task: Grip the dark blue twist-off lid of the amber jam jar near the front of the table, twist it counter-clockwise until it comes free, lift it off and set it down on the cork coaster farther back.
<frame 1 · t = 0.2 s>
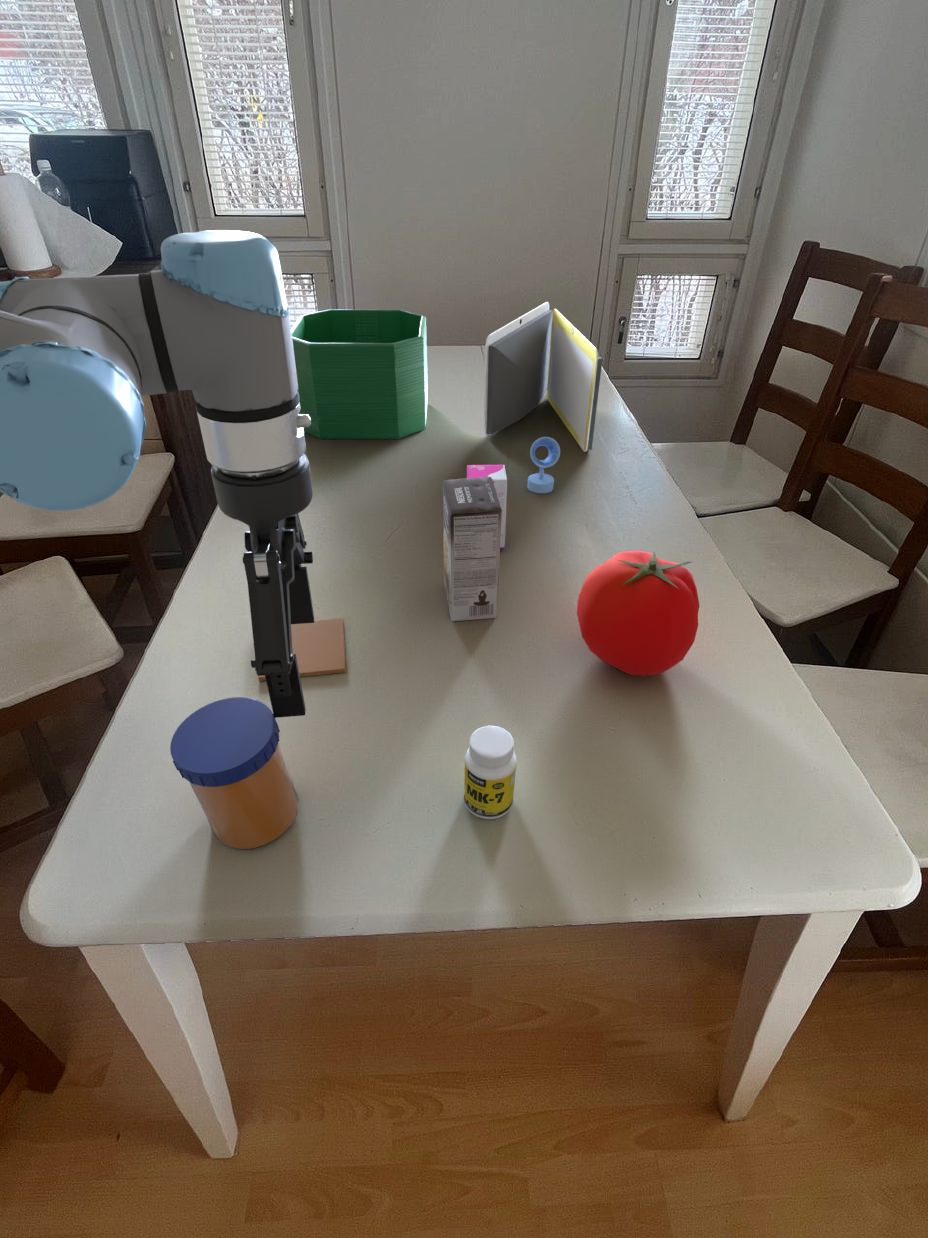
hand: (296, 664, 67), 10 cm above the table, tool pointing down, fingers open, 13 cm apart
jar: (256, 812, 65), on the table
coaster: (303, 649, 85), on the table
supplement box: (484, 542, 106), on the table
coffee box: (469, 601, 93), on the table
planter: (366, 416, 147), on the table
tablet: (527, 422, 145), on the table
supplement bottle: (488, 802, 67), on the table
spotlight: (540, 489, 120), on the table
lid: (224, 736, 59), point 11 cm above the table, screwed on, not yet turned, touching gripper
tomato: (625, 655, 85), on the table
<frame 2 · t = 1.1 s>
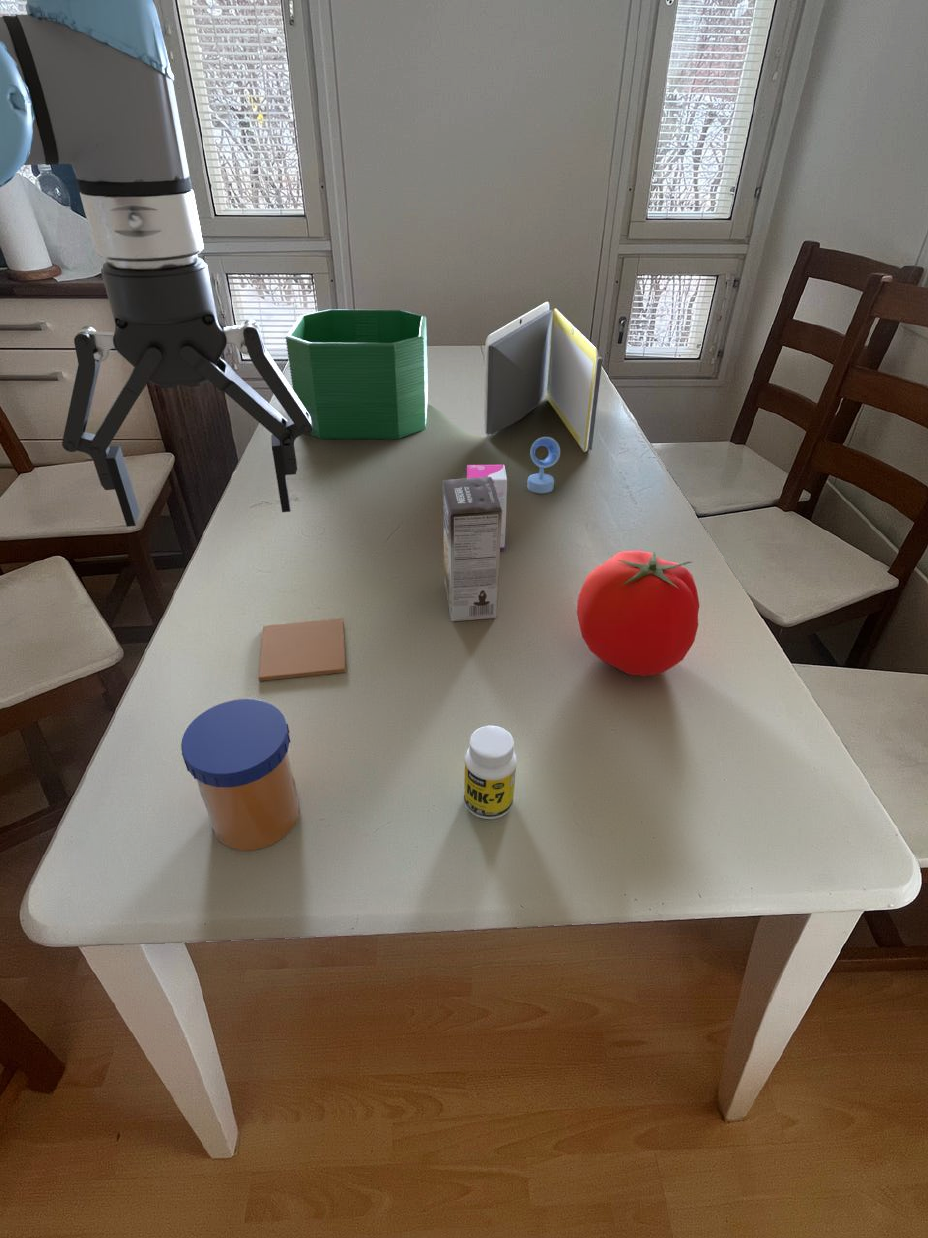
hand: (211, 512, 64), 23 cm above the table, tool pointing down, fingers open, 13 cm apart
lid: (235, 737, 59), point 11 cm above the table, turned 6° so far, risen 0.0 cm, still on its thread
everything else where it was.
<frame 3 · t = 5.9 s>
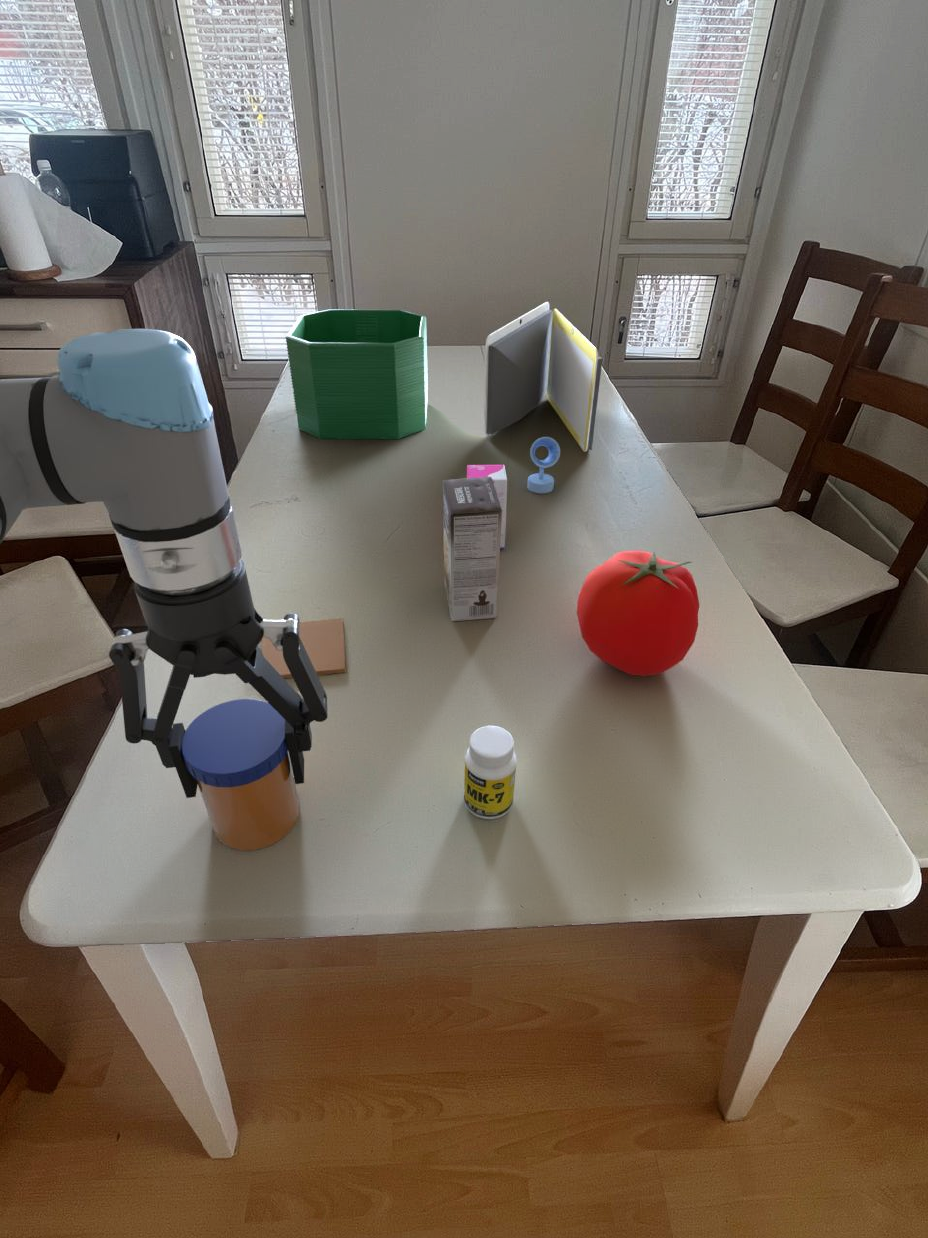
hand: (247, 778, 62), 5 cm above the table, tool pointing down, fingers closed on lid, 9 cm apart
lid: (235, 737, 59), point 11 cm above the table, turned 6° so far, risen 0.0 cm, still on its thread, touching gripper
everything else where it was.
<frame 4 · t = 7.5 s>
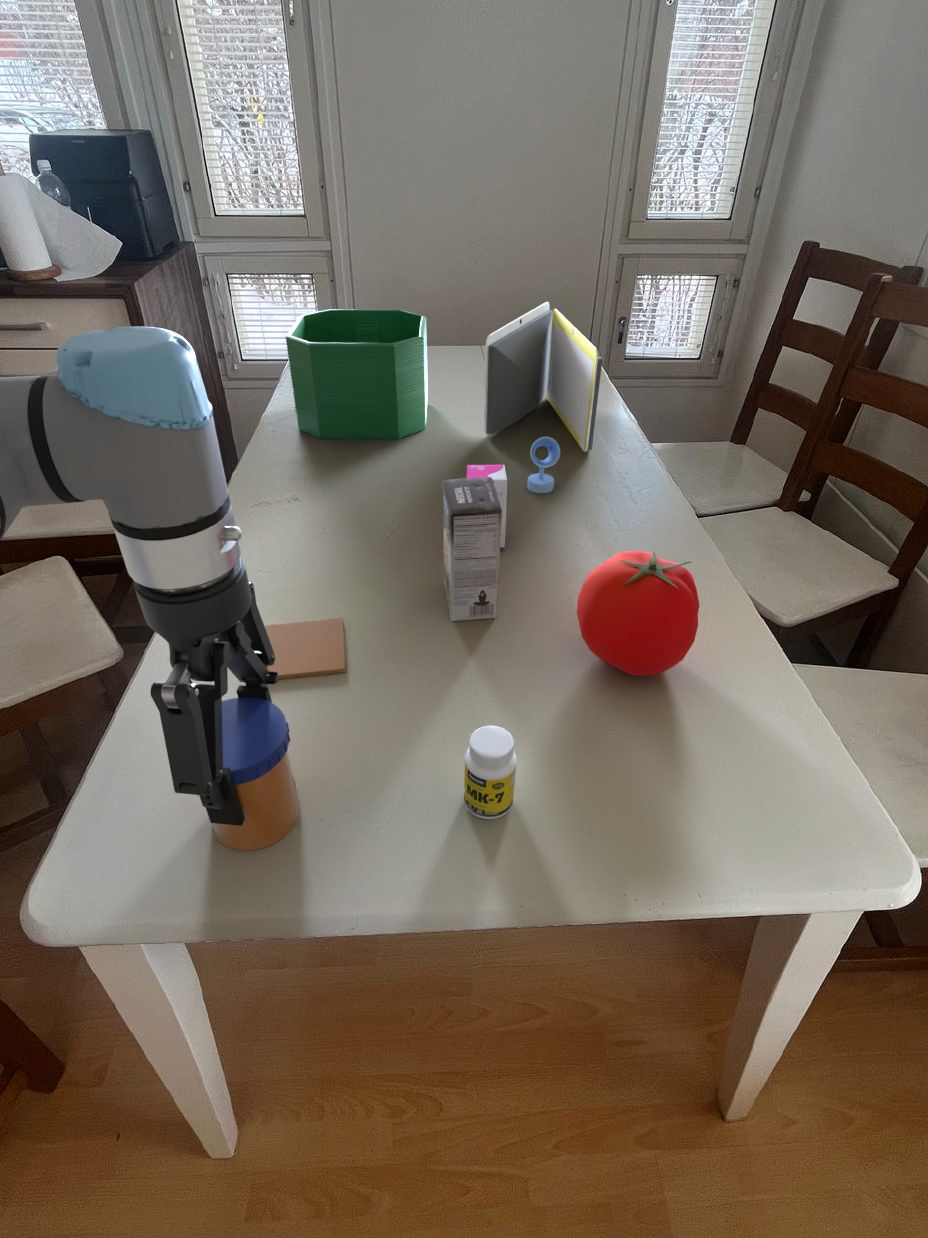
hand: (247, 777, 62), 5 cm above the table, tool pointing down, fingers closed on lid, 9 cm apart
lid: (235, 735, 59), point 11 cm above the table, turned 80° so far, risen 0.2 cm, still on its thread, touching gripper
everything else where it was.
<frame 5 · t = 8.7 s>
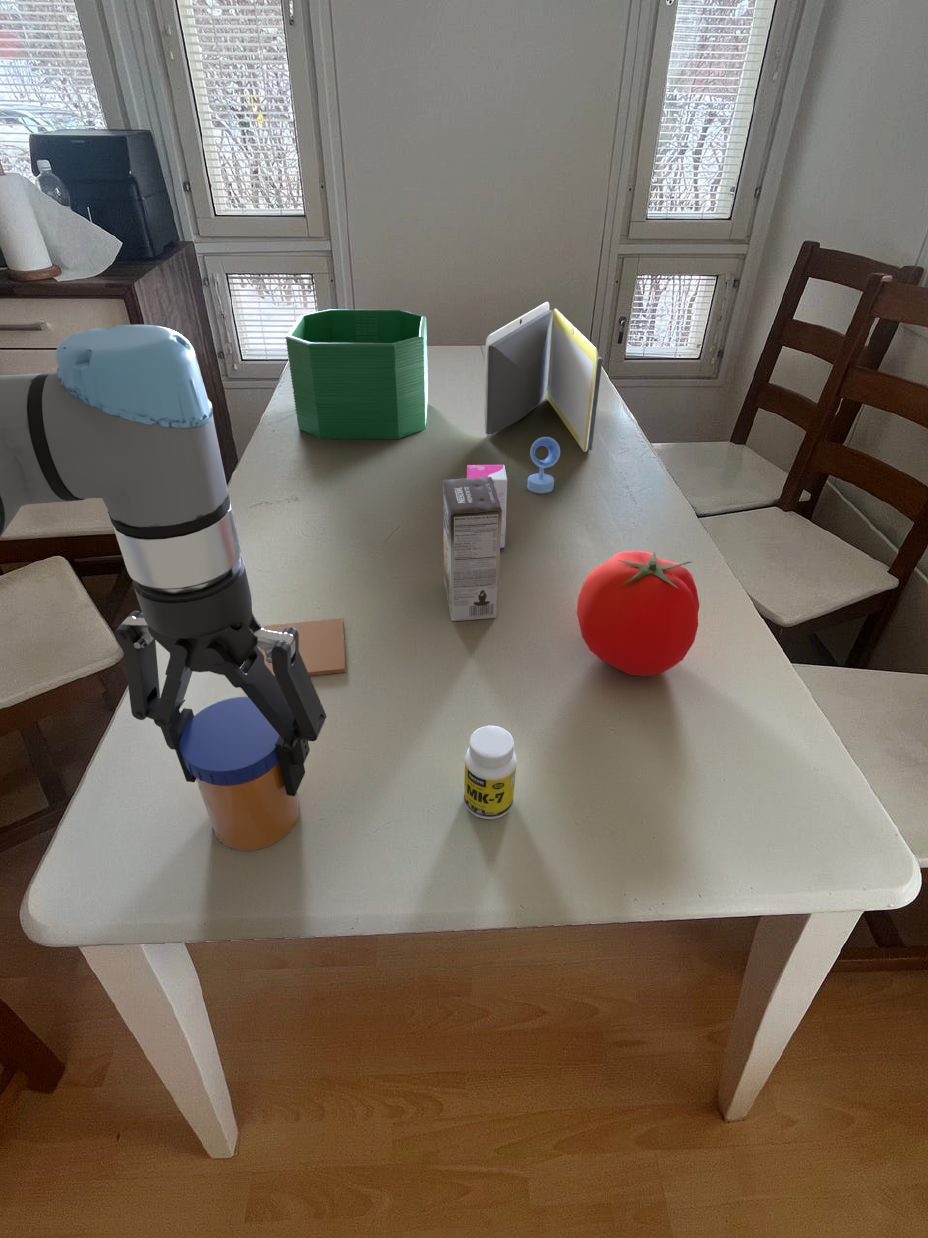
hand: (246, 776, 62), 5 cm above the table, tool pointing down, fingers closed on lid, 9 cm apart
lid: (234, 735, 59), point 11 cm above the table, off its thread, touching gripper
everything else where it was.
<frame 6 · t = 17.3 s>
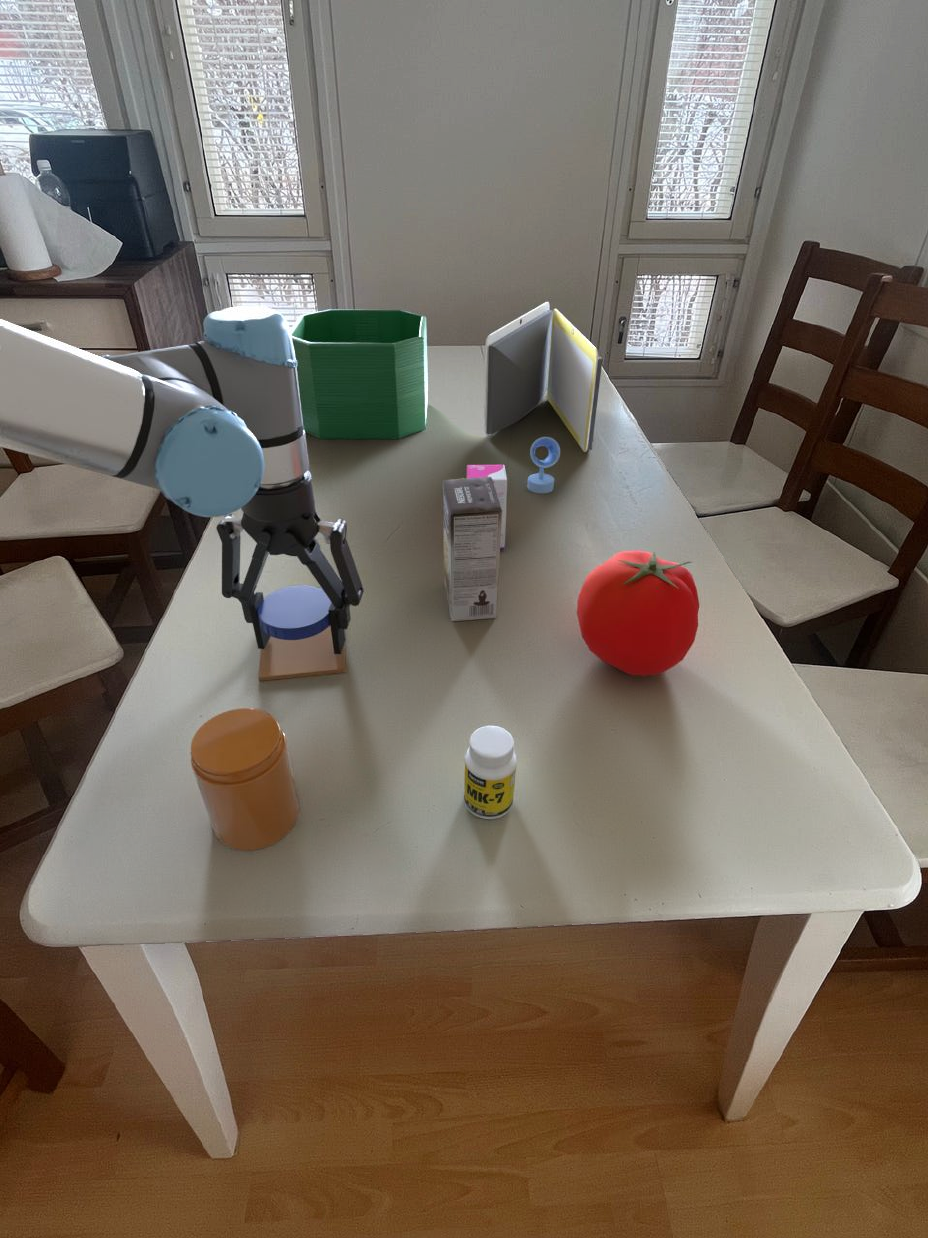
hand: (302, 644, 84), 1 cm above the table, tool pointing down, fingers closed on lid, 9 cm apart
lid: (296, 608, 81), point 6 cm above the table, off its thread, touching gripper
everything else where it was.
when the fingers open (3 cm above the table, at t = 29.3 s): lid drops 6 cm, resting on coaster.
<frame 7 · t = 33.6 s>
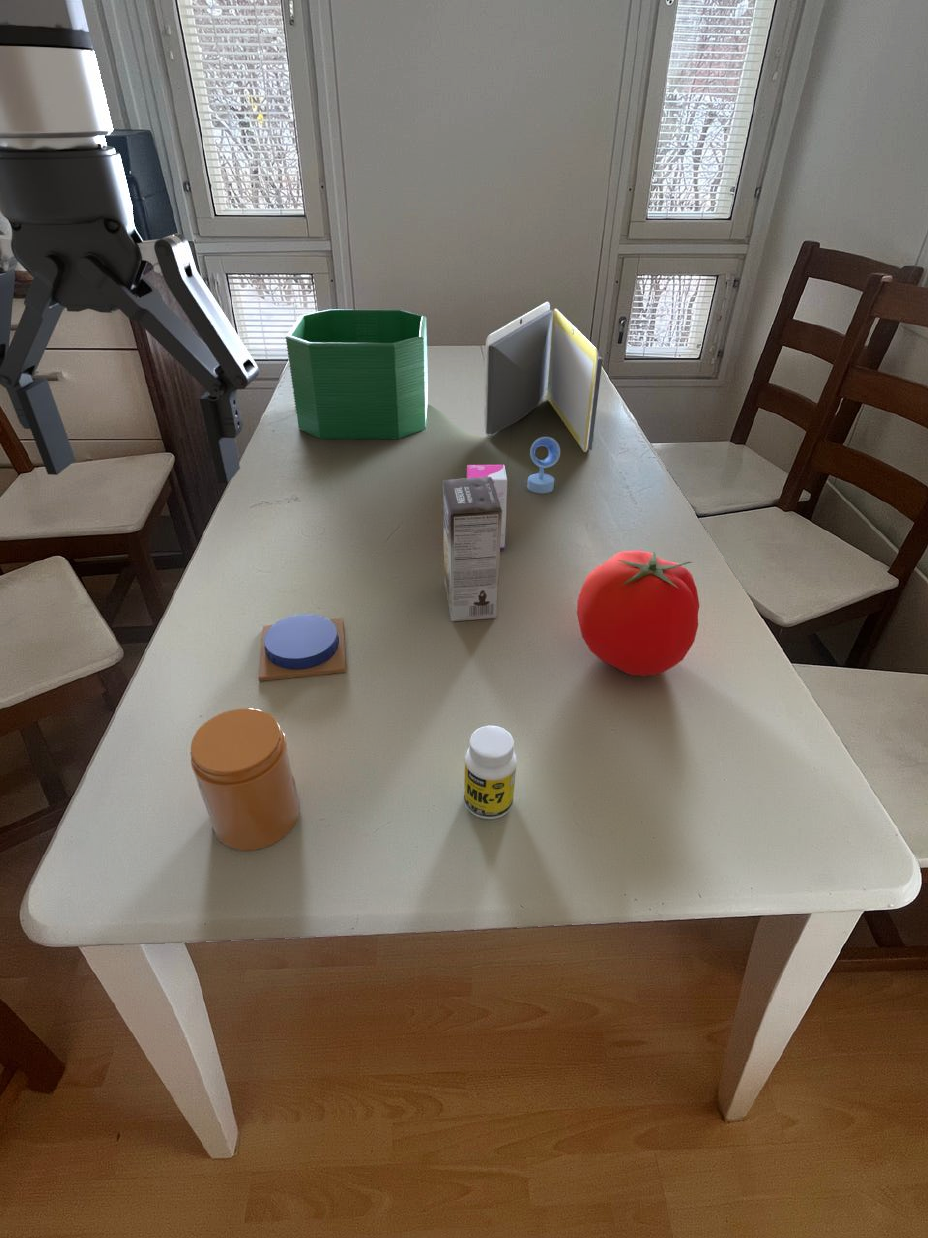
hand: (145, 471, 54), 31 cm above the table, tool pointing down, fingers open, 13 cm apart
lid: (301, 637, 84), point 2 cm above the table, off its thread, touching coaster
everything else where it was.
at the end: lid inside the target area on the coaster (0.0 cm from its centre), point 1.9 cm above the coaster's base; lid came off its thread; the gripper is holding nothing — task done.
